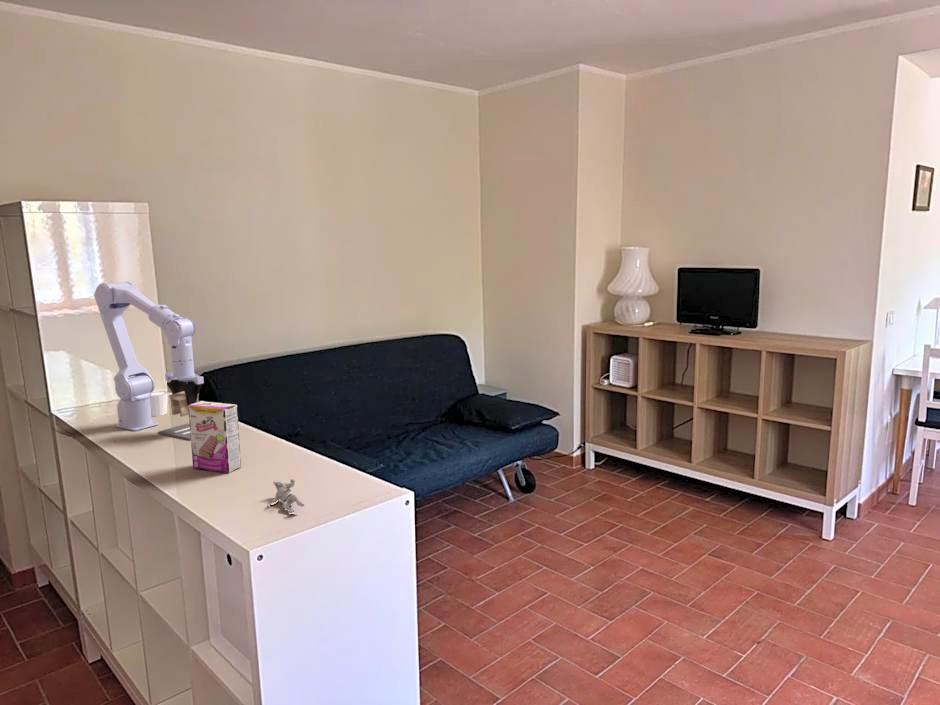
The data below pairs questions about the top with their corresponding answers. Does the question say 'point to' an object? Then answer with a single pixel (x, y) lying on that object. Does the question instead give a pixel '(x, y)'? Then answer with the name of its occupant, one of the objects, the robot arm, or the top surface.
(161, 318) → the robot arm
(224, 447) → the candy bar box
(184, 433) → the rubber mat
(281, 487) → the grey creature figurine
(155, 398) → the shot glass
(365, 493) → the top surface
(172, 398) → the two-pronged tan block
